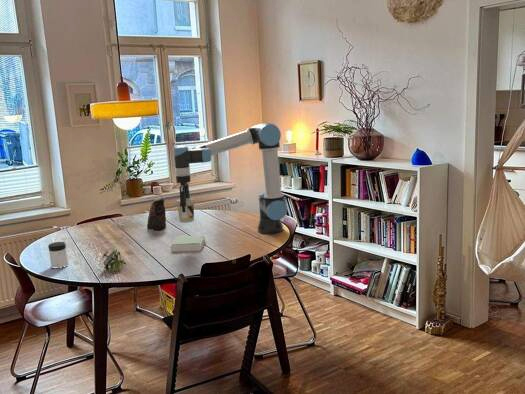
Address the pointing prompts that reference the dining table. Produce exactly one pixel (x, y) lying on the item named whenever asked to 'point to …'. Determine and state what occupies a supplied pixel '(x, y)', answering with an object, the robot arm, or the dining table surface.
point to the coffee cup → (189, 210)
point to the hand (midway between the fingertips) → (186, 215)
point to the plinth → (188, 243)
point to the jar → (58, 254)
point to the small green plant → (117, 263)
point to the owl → (157, 215)
